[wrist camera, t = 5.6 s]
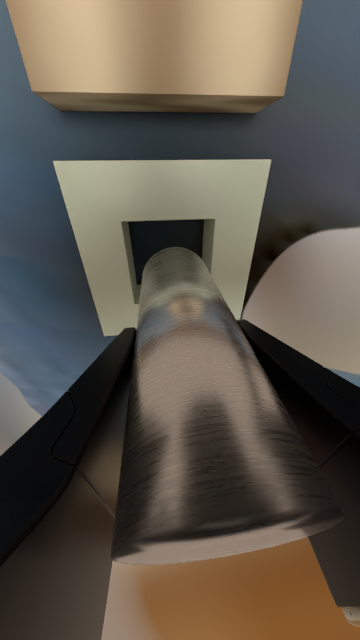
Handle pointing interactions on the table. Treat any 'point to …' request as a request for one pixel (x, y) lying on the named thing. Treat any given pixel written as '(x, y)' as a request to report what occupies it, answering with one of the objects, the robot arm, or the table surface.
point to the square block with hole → (161, 204)
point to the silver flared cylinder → (207, 434)
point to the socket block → (157, 53)
